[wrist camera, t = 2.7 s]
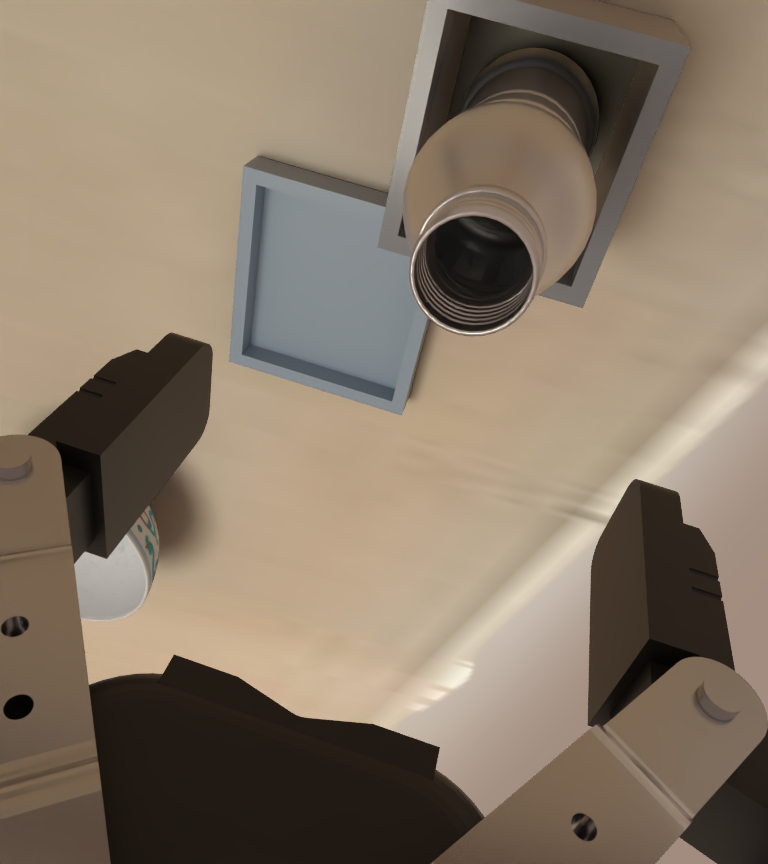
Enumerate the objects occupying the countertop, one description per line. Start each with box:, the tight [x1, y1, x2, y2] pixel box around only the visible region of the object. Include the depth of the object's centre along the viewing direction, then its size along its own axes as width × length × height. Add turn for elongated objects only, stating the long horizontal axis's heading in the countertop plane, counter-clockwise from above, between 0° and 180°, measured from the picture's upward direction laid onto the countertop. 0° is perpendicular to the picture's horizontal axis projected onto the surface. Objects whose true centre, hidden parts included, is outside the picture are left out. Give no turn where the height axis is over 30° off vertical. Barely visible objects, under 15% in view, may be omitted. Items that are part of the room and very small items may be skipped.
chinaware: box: [74, 504, 159, 621], centre depth 56 cm, size 15×15×8 cm
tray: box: [229, 156, 430, 415], centre depth 42 cm, size 13×12×2 cm
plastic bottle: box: [402, 48, 599, 336], centre depth 27 cm, size 6×7×20 cm
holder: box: [377, 0, 691, 308], centre depth 32 cm, size 11×10×8 cm
